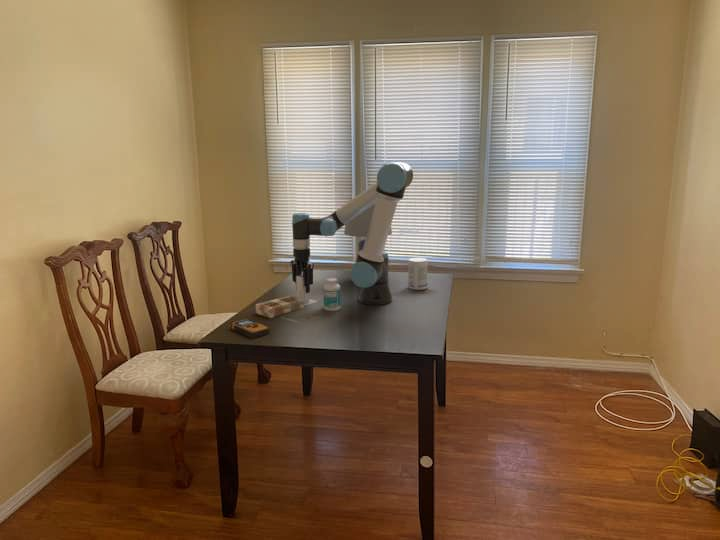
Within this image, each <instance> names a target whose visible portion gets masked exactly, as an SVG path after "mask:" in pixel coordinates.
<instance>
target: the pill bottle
mask: <svg viewBox="0 0 720 540" xmlns="http://www.w3.org/2000/svg"><path fill="white" fill-rule="evenodd" d="M325 282H326V283H324V285H323V287H322V288H323V310H325V311H330V312H331V311H332V312H337V311H340V310H341V307H342V306H341V305H342V303H341V300H342V299H341V285H340V284H339V283H338V279H337V278H333V277H331V278H326V279H325Z"/></svg>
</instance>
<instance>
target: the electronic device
mask: <svg viewBox="0 0 720 540" xmlns="http://www.w3.org/2000/svg"><path fill="white" fill-rule="evenodd" d="M230 329H231V330H233V331H235V332H238V333H239V334H240V335H241V334H242V335H244V336H246V337H248V338H251V339H256V338H260V337H264V336H267V335H269V334H270V328H269V327H268V326H267V325H264V324H262V323H260V322H259V323H258V322H257V321H254V320H252V319H249V318H247V317H245V318H241V319H238V320H234V321H231V323H230Z"/></svg>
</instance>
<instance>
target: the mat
mask: <svg viewBox="0 0 720 540" xmlns="http://www.w3.org/2000/svg"><path fill="white" fill-rule="evenodd" d="M316 303H319V301H317V300H315V299H311V298H309V302H306V303H303V307H305V306H308V305H313V304H316Z"/></svg>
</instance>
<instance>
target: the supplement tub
mask: <svg viewBox="0 0 720 540" xmlns="http://www.w3.org/2000/svg"><path fill="white" fill-rule="evenodd" d="M407 267H408V269H407V271H408V273H407V274H408V275H407V276H408V279H407V281H408V288H409V290H410V289H411V290H414V291H423V290H426V289H427V288H428V259H427V258H424V257H411V258H409V259H408V264H407Z"/></svg>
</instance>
